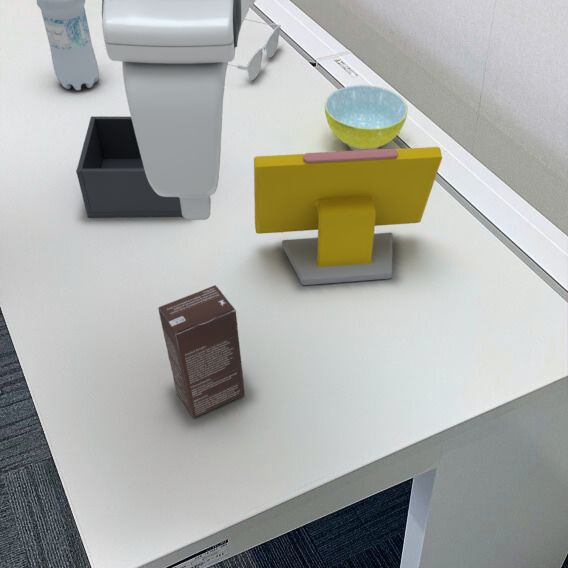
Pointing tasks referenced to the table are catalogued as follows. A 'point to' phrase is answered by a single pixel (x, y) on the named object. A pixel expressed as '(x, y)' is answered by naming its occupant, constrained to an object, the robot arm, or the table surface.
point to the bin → (118, 173)
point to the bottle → (70, 42)
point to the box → (203, 350)
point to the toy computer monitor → (342, 207)
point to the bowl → (365, 115)
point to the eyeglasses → (270, 48)
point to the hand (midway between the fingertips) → (200, 171)
